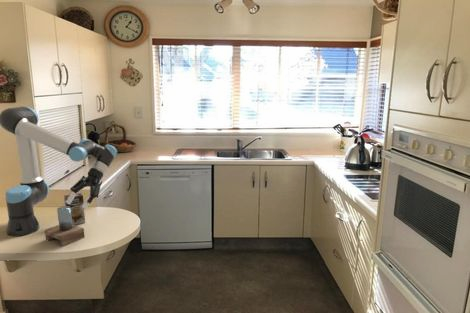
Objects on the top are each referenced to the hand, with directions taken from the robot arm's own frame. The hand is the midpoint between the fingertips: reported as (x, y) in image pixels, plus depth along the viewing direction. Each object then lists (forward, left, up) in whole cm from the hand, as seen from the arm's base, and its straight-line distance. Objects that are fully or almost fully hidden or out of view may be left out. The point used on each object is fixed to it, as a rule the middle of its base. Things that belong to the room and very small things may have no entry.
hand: (75, 205), depth 183 cm
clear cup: (-1, -6, -10) cm, 12 cm away
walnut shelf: (-1, -7, -16) cm, 17 cm away
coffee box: (-15, +9, -16) cm, 23 cm away
